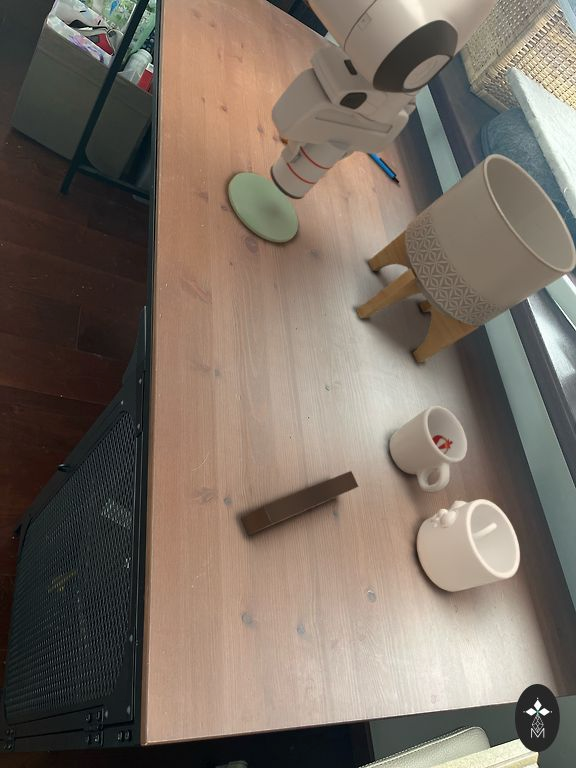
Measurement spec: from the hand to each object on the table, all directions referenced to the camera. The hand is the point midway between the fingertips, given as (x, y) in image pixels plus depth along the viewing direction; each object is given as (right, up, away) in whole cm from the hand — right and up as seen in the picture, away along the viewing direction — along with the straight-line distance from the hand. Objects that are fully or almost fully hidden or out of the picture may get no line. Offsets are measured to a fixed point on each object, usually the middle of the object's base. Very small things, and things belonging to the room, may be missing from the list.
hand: (305, 161), depth 84 cm
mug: (+18, -52, -2) cm, 55 cm away
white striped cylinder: (0, -5, +1) cm, 5 cm away
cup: (+14, -41, +1) cm, 43 cm away
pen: (+12, +15, +35) cm, 40 cm away
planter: (+15, -18, +16) cm, 29 cm away
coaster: (-6, -4, +7) cm, 10 cm away
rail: (-2, -44, -14) cm, 46 cm away
